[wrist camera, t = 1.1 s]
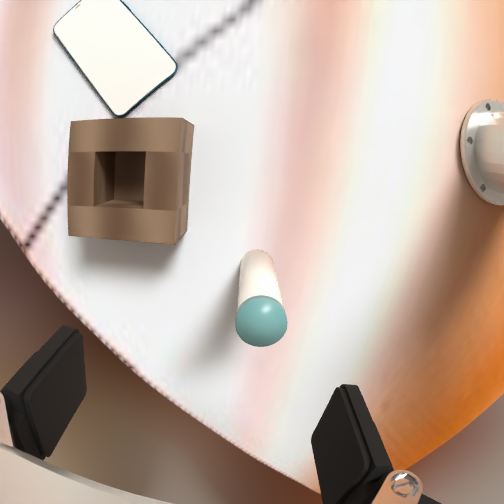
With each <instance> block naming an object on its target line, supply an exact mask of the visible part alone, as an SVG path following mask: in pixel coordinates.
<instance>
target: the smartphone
mask: <svg viewBox="0 0 504 504" xmlns="http://www.w3.org/2000/svg"><path fill="white" fill-rule="evenodd" d="M53 32H54V34H55V35H56V37H57V38H58V39H59V41H60V42H61V44H62V46H64V48H65V50H66V51H67V53H68V54H69V55H70V57H71V58H72V59H73V61H74V62H75V63H76V64H77V66H78V67H79V68H80V70H81V71H82V72H83V74H84V75H85V77H86V78H87V79H88V81H89V82H90V83H91V85H92V86H93V87H94V89H95V90H96V91H97V93H98V94H99V96H100V97H101V98H102V100H103V101H104V102H105V104H106V105H107V106H108V108H109V109H110V110H111V112H112V113H113V114H114V115H116V116H119V117H122V116H125V115H127V114H128V113H129V112H130V111H131V110H132V109H134V108H135V106H137V105H138V104H139V103H140V102H142V100H143V99H145V98H146V97H147V96H149V94H151V93H152V92H153V91H154V90H156V89H157V88H159V87H160V85H162V84H164V82H166V81H167V80H169V79H170V78H171V77H173V76H174V75H175V74H176V72H177V70H178V65H177V63H176V62H175V60H174V59H173V58H172V57H171V56H170V54H169V53H168V52H167V51H166V50H165V49H164V47H163V46H162V45H161V44H160V43H159V42H158V41H157V39H156V38H155V37H154V36H153V35H152V34H151V33H150V32H149V30H148V29H147V28H146V27H145V26H144V25H143V24H142V23H141V21H140V20H139V19H138V18H137V17H136V16H135V15H134V14H133V13H132V12H131V10H130V9H129V8H128V6H127V5H126V4H125V3H124V2H122V1H121V0H81V1H79V2H78V3H77V4H76V5H75V6H74V7H73V8H72V9H70V10H69V11H68V12H67V13H66V14H65V15H64V16H63V17H62V18H61V19H60V20H59V21H58V22H57V23H56V24H55V26H54V28H53Z"/></svg>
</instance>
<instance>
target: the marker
mask: <svg viewBox="0 0 504 504" xmlns="http://www.w3.org/2000/svg"><path fill="white" fill-rule="evenodd" d="M286 329H287V318H286V314H285V310H284V308H283V304H282V299H281V295H280V290H279V286H278V282H277V277H276V273H275V269H274V264H273V260H272V258H271V256H270V255H269V254H268V253H267V252H265V251H263V250H252V251H249V252H248V253H246V254H245V255H244V256H243V258H242V260H241V266H240V279H239V293H238V307H237V313H236V331H237V333H238V335H239V337H240V338H241V339H242V340H243V341H244V342H246V343H248V344H250V345H252V346H258V347H264V346H269V345H272V344H274V343H276V342H278V341H279V340H280V339H281V338H282V337H283V335H284V334H285V332H286Z"/></svg>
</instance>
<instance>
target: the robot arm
mask: <svg viewBox="0 0 504 504" xmlns="http://www.w3.org/2000/svg"><path fill="white" fill-rule="evenodd" d="M460 150H461V158H462V164H463V168H464V171H465V174H466V177H467V179H468V181H469V183H470V185H471V186H472V188H473V190H474V191H475V192H476V193H477V194H478V196H479V197H480V198H482V199H483V200H485V201H486V202H489V203H491V204H495V205H504V103H503V102H501V101H498V100H484V101H481V102H479V103H477V104H475V105H474V106H473V107H472V108H471V109H470V111H469V112H468V113H467V115H466V117H465V120H464V122H463V126H462V130H461V139H460ZM86 388H87V387H86V377H85V364H84V349H83V336H82V334H79V330H78V329H76V328H73V327H70V326H67V325H63V326H62V327H61V328H60V329H59V330H58V331H57V332H56V333H55V334H54V335H53V336H52V337H51V338H50V339H49V340H48V341H47V342H46V343H45V344H44V345H43V346H42V348H41V349H40V350H39V351H37V352H36V353H34V354H33V355H32V356H31V358H30V359H29V360H28V361H27V362H26V363H25V364H24V365H23V366H22V367H21V368H20V369H19V370H18V372H17V373H16V374H15V375H14V376H13V377H12V378H11V380H10V381H9V382H8V383H7V384H6V385H5V386H4V387H3V389H2V390H1V391H0V504H173V503H168V502H164V501H160V500H155V499H151V498H147V497H144V496H140V495H136V494H133V493H129V492H126V491H122V490H119V489H115V488H112V487H109V486H107V485H104V484H101V483H98V482H95V481H92V480H90V479H87V478H84V477H82V476H79V475H76V474H74V473H71V472H69V471H66V470H64V469H61V468H59V467H57V466H54V465H52V464H50V463H47V462H45V461H43V460H44V459H45V457H46V456H47V457H50V455H51V454H52V452H53V451H54V449H55V447H56V445H57V443H58V441H59V440H60V438H61V436H62V434H63V433H64V431H65V429H66V428H67V426H68V424H69V422H70V420H71V419H72V417H73V415H74V413H75V412H76V410H77V409H78V407H79V405H80V403H81V402H82V400H83V399H84V397H85V395H86ZM311 444H312V449H313V454H314V459H315V464H316V469H317V474H318V480H319V485H320V490H321V495H322V501H323V504H441V503H439V502H437V501H435V500H433V499H431V498H429V497H427V496H425V495H423V494H422V489H423V487H422V483H421V481H420V479H419V478H418V477H417V476H416V475H415V474H413V473H412V472H410V471H407V470H395V471H394V469H393V467H392V464H391V462H390V459H389V457H388V454H387V452H386V449H385V447H384V445H383V442H382V440H381V437H380V435H379V433H378V430H377V428H376V425H375V423H374V422H373V420H372V418H371V415H370V413H369V410H368V408H367V406H366V403H365V401H364V399H363V396H362V394H361V392H360V390H359V387H358V386H357V385H347V384H342V385H341V386H340V388H339V387H337V388H336V389H335V391H334V393H333V395H332V397H331V399H330V401H329V403H328V405H327V407H326V409H325V411H324V413H323V415H322V417H321V419H320V421H319V423H318V425H317V427H316V428H315V430H314V432H313V434H312V438H311Z"/></svg>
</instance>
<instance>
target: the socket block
mask: <svg viewBox="0 0 504 504" xmlns="http://www.w3.org/2000/svg"><path fill="white" fill-rule="evenodd" d="M193 132H194V125H193V124H191V123H190V122H188V121H187V120H185V119H183V118H117V119H97V120H82V121H71V126H70V138H69V155H68V233H69V236H77V237H89V238H102V239H114V240H126V241H139V242H151V243H163V244H175V243H176V242H177V241H178V240H179V239H180V238H181V236H182V235H183V234H184V233H185V232H186V230H187V221H188V201H189V184H190V169H191V156H192V143H193Z"/></svg>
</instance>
